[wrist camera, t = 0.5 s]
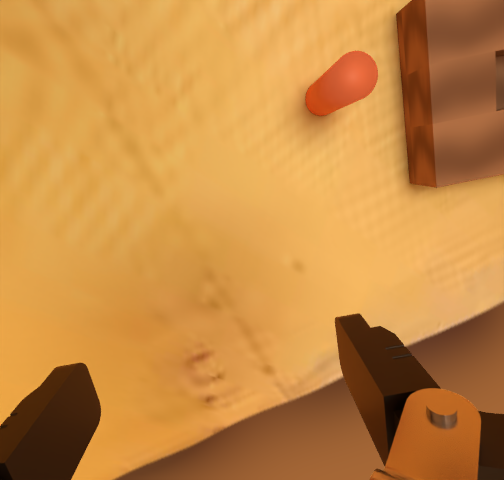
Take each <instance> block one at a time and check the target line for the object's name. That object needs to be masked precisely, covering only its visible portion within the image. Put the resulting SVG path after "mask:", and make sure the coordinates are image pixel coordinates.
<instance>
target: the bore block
mask: <svg viewBox="0 0 504 480" xmlns="http://www.w3.org/2000/svg"><path fill="white" fill-rule="evenodd" d="M396 15H397V28H398V40H399V53H400V65H401V78H402V90H403V102H404V115H405V127H406V140H407V152H408V165H409V177H410V183H413V184H418V185H424V186H430V187H436V188H437V187H442V186H447V185H452V184H457V183H462V182H467V181H472V180H477V179H482V178H487V177H492V176H497V175H502V174H504V0H412V1H410V2H409V3H408V4H407V5H406V6H405V7H404V8H403V9H401V10H400V11H399V12H398V13H397V14H396Z"/></svg>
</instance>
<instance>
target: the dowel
mask: <svg viewBox="0 0 504 480" xmlns="http://www.w3.org/2000/svg"><path fill="white" fill-rule="evenodd" d="M377 78H378V70H377V66H376V63H375V61H374V60H373V59H372V57H371V56H369V55H368V54H367V53H365V52H362V51H352V52H349V53H346V54H345V55H343V56H342V57H341V58H340V59H339V60H338V61H337V62H336V63H335V64H334V65H332V66H331V67H330V68H329V69H328V70H327V71H326V72H325V73H324V74H323V75H322V76H321V77H320V78H319V79H318V80H317V81H316V82H314V83H313V84H312V85H311V86H310V88H309V89H308V91H307V93H306V99H305V100H306V105H307V107H308V109H309V110H310V112H312V113H313V114H315V115H318V116H324V115H327V114H329V113H331V112H334V111H336V110H338V109H340V108H343V107H345V106H347V105H349V104H352V103H354V102H356V101H358V100H361V99H363V98H365V97H366V96H368V95H369V94H370V93H371V92H372V90H373V89H374V87H375V85H376V82H377Z"/></svg>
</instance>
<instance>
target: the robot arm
mask: <svg viewBox="0 0 504 480" xmlns="http://www.w3.org/2000/svg"><path fill="white" fill-rule="evenodd" d="M335 327H336V335H337V343H338V351H339V359H340V365H341V369H342V373H343V376H344V379H345V382H346V384H347V386H348V388H349V390H350V392H351V395H352V396H353V399H354V401H355V403H356V405H357V407H358V410H359V412H360V414H361V416H362V418H363V421H364V423H365V425H366V427H367V429H368V431H369V434H370V436H371V438H372V440H373V442H374V444H375V447H376V449H377V451H378V453H379V455H380V457H381V459H382V462H383V464H384V466H385V468H384V470H383V471H382V470H380V469H376V470H374V472H373V473H372V475H371V478H370V480H504V414H494V413H485V412H481V411H478V410H477V409H476V408H475V406H474V405H473V404H472V403H471V402H469V401H468V400H467V399H465V398H464V397H462V396H460V395H458V394H456V393H453V392H451V391H448V390H444V389H441V388H440V387H439V386H438V385H437V383H436V382H435V381H434V380H433V379H432V377H431V376H430V375H429V374H428V373H427V372H426V370H425V369H424V368H423V367H422V366H421V364H420V363H419V362H418V361H417V360H416V358H415V357H414V356H412V355H411V353H410V351H409V350H408V349H407V348H406V347H404V344H403V343H402V342H401V341H400V340H399V338H398V337H397V336H396V335H395V334H394V333H392V332H390V331H389V330H387V329H385V328H383V327H381V326H378V327H373V328H370V327H369V325H368V324H367V323H366V321H365V320H364V318H363V317H362V316H361V315H360V314H359V313H358V314H352V315H347V316H341V317H336V318H335ZM100 416H101V406H100V402H99V399H98V396H97V393H96V390H95V388H94V385H93V382H92V379H91V376H90V374H89V371H88V368H87V366H86V365H85V364H84V363H76V364H70V365H65V366H59V367H56V368H55V369H54V370H53V371H52V372H51V373H50V375H49V376H48V377H47V378H46V379H45V381H44V382H43V383H42V384H41V385H40V387H38V388H37V389H36V390H34V391H33V392H32V393H31V394H29V395H28V396H27V397H25V398H24V399H23V400H22V401H21V402H20V403H19V405H18V406H17V407H16V408H15V409H14V410H13V412H12V413H11V416H10V417H7V419H6V420H5V421H4V422H3V423H2V425H1V426H0V480H71V478H72V476H73V474H74V472H75V470H76V468H77V466H78V464H79V462H80V460H81V458H82V456H83V454H84V452H85V450H86V448H87V446H88V444H89V442H90V440H91V438H92V436H93V434H94V432H95V430H96V428H97V426H98V424H99V421H100Z"/></svg>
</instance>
